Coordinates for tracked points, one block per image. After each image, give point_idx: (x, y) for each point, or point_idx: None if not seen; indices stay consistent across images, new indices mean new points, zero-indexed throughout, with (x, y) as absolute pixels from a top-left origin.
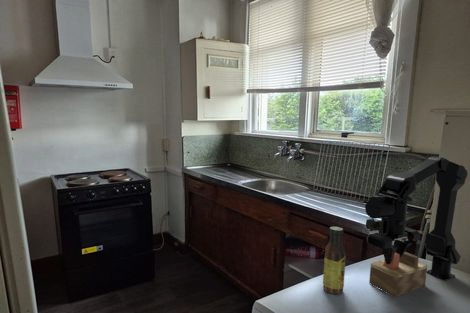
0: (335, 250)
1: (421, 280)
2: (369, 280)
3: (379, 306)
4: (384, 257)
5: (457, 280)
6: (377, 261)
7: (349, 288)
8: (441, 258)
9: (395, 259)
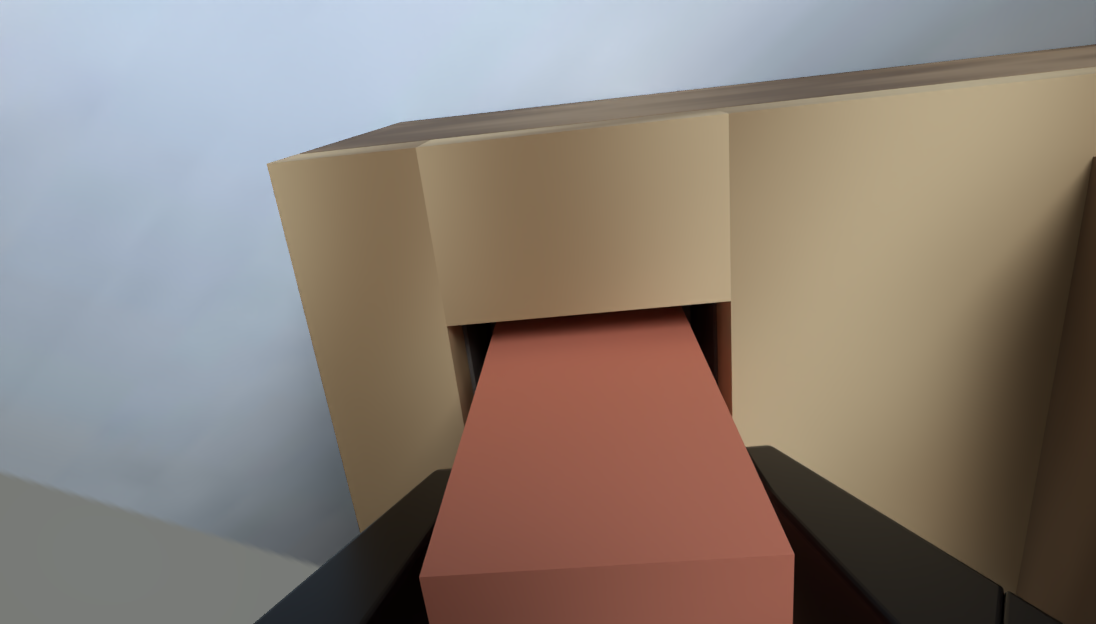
0: None
1: None
2: (388, 126)
3: (185, 500)
4: (341, 555)
5: None
6: (500, 152)
7: (50, 128)
8: None
9: None
